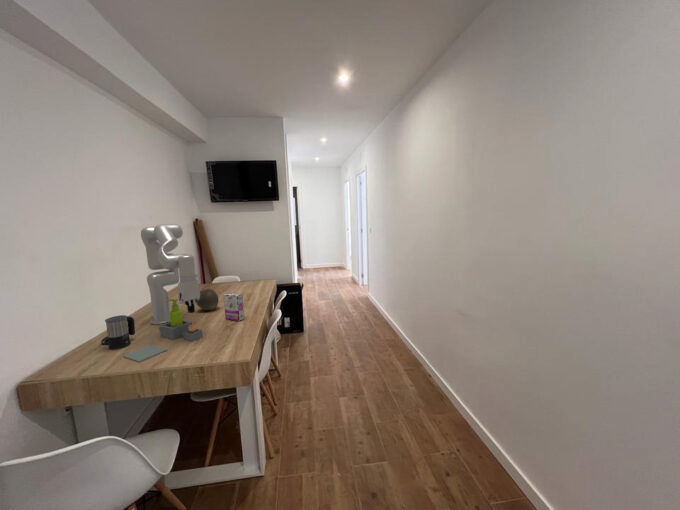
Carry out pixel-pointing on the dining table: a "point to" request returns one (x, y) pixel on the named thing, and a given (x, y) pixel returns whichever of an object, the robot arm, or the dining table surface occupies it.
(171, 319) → the soap dispenser
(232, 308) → the candy bar box
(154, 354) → the mat
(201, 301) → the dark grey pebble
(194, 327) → the tan ball
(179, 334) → the holder
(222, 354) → the dining table surface
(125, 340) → the milk frother
